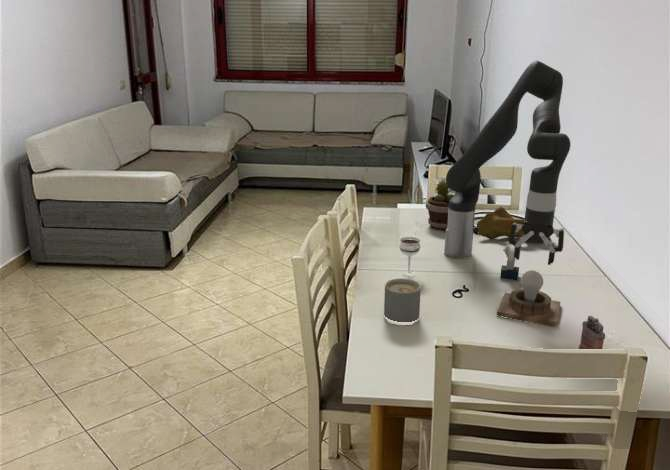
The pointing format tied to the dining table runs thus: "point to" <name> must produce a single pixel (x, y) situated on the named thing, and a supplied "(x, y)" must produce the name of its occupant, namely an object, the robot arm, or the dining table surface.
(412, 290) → the coffee mug
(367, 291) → the dining table surface
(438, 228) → the flowerpot
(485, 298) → the dining table surface
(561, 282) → the dining table surface
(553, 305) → the lamp socket
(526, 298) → the lightbulb
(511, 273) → the watch
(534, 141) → the robot arm
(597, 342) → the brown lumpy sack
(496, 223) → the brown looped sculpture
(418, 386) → the dining table surface
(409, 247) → the wineglass
